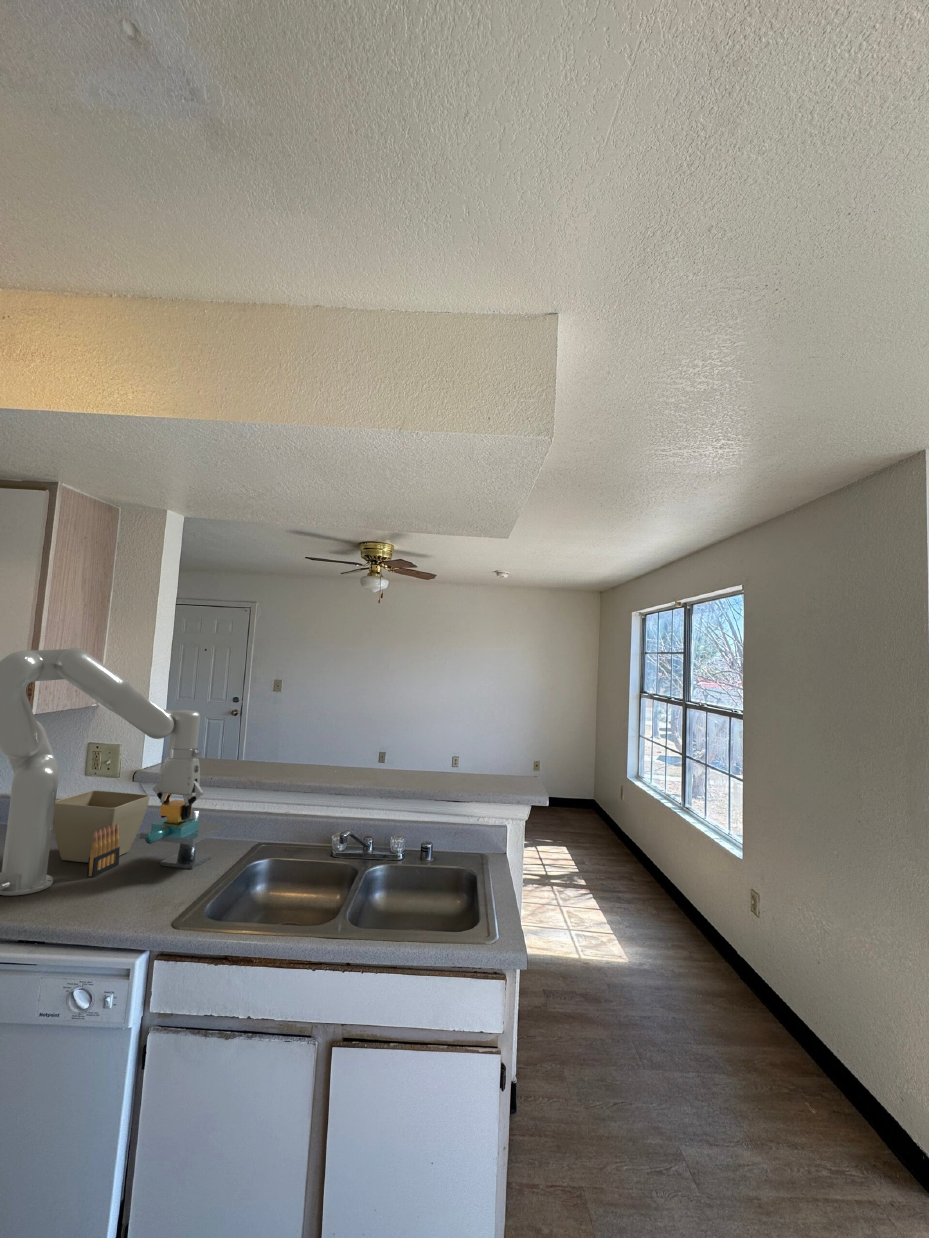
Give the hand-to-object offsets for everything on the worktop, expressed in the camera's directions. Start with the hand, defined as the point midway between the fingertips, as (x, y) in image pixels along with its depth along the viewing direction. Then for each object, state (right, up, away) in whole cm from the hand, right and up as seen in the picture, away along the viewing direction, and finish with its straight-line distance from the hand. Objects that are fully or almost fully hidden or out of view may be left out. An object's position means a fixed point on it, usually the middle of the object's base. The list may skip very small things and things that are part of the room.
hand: (175, 817), depth 174 cm
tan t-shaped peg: (0, -5, 0) cm, 5 cm away
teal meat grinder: (-1, -15, 0) cm, 15 cm away
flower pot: (-26, -14, +6) cm, 30 cm away
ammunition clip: (-18, -13, -5) cm, 23 cm away
